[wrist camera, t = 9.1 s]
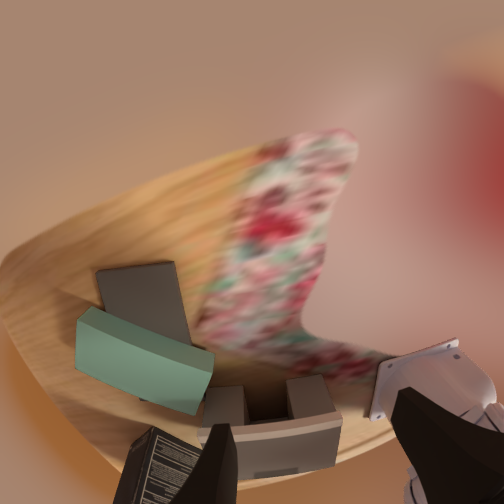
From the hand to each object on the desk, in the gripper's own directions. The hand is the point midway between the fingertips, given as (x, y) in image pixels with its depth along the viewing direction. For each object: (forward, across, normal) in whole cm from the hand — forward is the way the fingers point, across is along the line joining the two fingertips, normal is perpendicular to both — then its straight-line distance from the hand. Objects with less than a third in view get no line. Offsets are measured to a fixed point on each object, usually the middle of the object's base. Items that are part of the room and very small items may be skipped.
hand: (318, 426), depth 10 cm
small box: (+11, +12, +17) cm, 23 cm away
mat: (+10, +10, +1) cm, 14 cm away
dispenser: (+10, +2, +9) cm, 14 cm away
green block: (+9, +10, 0) cm, 13 cm away
